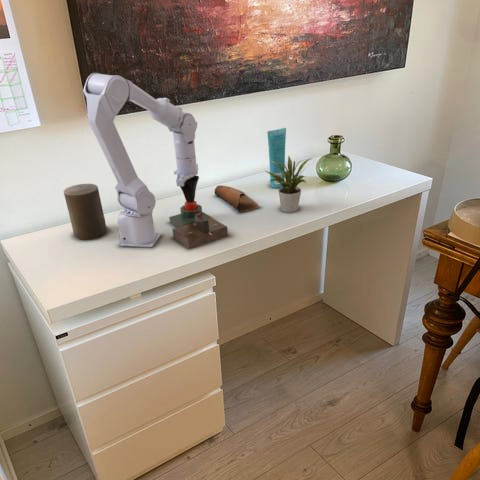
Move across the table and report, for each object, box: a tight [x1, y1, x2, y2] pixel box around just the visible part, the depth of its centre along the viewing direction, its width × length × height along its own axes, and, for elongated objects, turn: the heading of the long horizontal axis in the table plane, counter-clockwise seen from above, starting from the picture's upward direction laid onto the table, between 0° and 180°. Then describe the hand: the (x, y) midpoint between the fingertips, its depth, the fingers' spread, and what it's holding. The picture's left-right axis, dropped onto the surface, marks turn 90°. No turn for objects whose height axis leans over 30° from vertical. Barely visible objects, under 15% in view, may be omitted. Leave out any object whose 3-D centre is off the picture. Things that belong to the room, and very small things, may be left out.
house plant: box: [265, 155, 313, 213], centre depth 155 cm, size 14×14×16 cm
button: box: [184, 200, 198, 211], centre depth 152 cm, size 4×4×2 cm
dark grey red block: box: [195, 213, 209, 233], centre depth 140 cm, size 6×2×4 cm, turn 30°
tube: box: [266, 127, 287, 189], centre depth 171 cm, size 7×5×19 cm, turn 127°
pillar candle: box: [63, 183, 108, 241], centre depth 145 cm, size 10×10×15 cm
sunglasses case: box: [213, 185, 260, 213], centre depth 164 cm, size 18×7×7 cm
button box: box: [168, 203, 212, 228], centre depth 152 cm, size 10×9×4 cm
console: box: [172, 217, 229, 250], centre depth 142 cm, size 13×11×3 cm
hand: (190, 201), depth 151 cm, fingers closed
